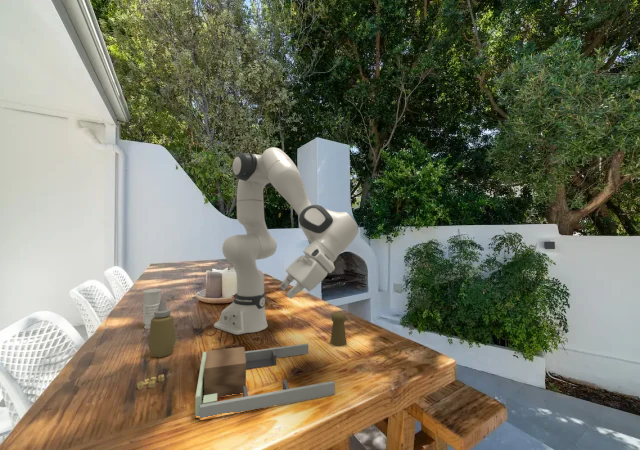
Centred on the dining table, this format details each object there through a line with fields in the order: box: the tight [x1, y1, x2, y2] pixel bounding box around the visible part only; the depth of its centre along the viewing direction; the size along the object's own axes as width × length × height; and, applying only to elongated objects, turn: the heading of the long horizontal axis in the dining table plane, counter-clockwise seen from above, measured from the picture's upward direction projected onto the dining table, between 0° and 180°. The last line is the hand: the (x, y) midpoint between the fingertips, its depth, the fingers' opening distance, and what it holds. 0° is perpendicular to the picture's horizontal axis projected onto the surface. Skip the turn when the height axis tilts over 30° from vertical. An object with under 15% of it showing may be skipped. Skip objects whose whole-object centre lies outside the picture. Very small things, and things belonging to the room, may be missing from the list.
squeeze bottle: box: [147, 298, 177, 358], centre depth 94 cm, size 8×8×18 cm
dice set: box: [136, 373, 165, 390], centre depth 77 cm, size 5×5×2 cm
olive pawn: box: [330, 311, 347, 347], centre depth 104 cm, size 6×6×11 cm
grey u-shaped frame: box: [199, 343, 336, 419], centre depth 79 cm, size 32×25×3 cm
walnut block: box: [203, 346, 247, 398], centre depth 76 cm, size 10×10×8 cm
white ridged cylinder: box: [142, 288, 163, 330], centre depth 119 cm, size 7×7×15 cm
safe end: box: [194, 351, 218, 417], centre depth 75 cm, size 4×23×5 cm, turn 19°
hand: (284, 292), depth 81 cm, fingers open, 8 cm apart
